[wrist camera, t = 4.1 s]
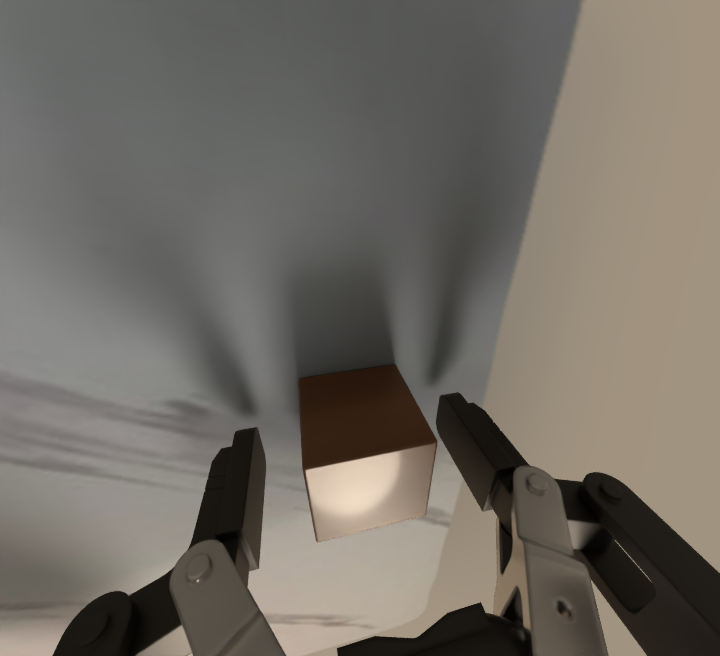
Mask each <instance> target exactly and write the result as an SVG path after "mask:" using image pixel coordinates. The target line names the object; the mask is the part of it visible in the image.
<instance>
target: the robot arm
mask: <svg viewBox="0 0 720 656" xmlns="http://www.w3.org/2000/svg"><path fill="white" fill-rule="evenodd" d="M436 426H437V431H438V433H439V436H440V437H441V439H442V441H443V443H444V445H445V446H446V448H447V450H448V452H449V453H450V455H451V457H452V459H453V460H454V462H455V464H456V466H457V467H458V469H459V471H460V473H461V474H462V476H463V478H464V480H465V482H466V483H467V485H468V487H469V488H470V490H471V492H472V494H473V496H474V497H475V499H476V501H477V503H478V504H479V506H480V508H481V510H482V511H487V510H491V509H493V510H494V512H495V513H496V515H497V520H496V545H497V546H496V547H497V548H496V549H497V582H496V589H495V595H494V610H493V614H489V613H485V611H484V608H483V606H482V604H481V602H480V603H477V604H474V605H471V606H468V607H465V608H461V609H458V610H455V611H452V612H449V613H447V614H446V615H445V616H443V617H442V618H441V619H440V620H438V621H437V622H436V623H435V624H434V625H432V626H431V627H430V628H429V629H427V630H426V631H425V632H424V633H422V634H421V635H420V636H419V637H417V638H397V637H380V636H374V637H371V638H368V639H365V640H361V641H358V642H355V643H352V644H349V645H346V646H343V647H340V648H337V653H338V656H608V652H607V647H606V643H605V639H604V634H603V630H602V626H601V622H600V618H599V614H598V609H597V605H596V601H595V597H594V592H593V588H592V584H591V580H592V581H593V583H594V584H595V585H596V586H597V588H598V589H599V591H600V592H601V593H602V595H603V596H604V598H605V599H606V600H607V602H608V603H609V604H610V606H611V607H612V608H613V610H614V611H615V613H616V614H617V615H618V617H619V618H620V619H621V621H622V622H623V623H624V624H625V626H626V627H627V629H628V630H629V631H630V633H631V634H632V636H633V637H634V638H635V640H636V641H637V642H638V644H639V645H640V646H641V648H642V649H643V651H644V652H645V653H646V655H647V656H720V573H719V572H718V571H717V570H715V569H714V568H713V567H712V566H711V565H710V564H709V563H708V562H707V561H706V560H705V559H704V558H703V557H702V556H701V555H700V554H698V553H697V552H696V551H695V550H694V549H693V548H692V547H691V546H690V545H689V544H688V543H687V542H686V541H685V540H683V539H682V538H681V537H680V536H679V535H678V534H677V533H676V532H675V531H674V530H673V529H671V527H670V526H669V525H668V524H666V523H665V522H664V521H663V520H662V519H661V518H660V517H659V516H658V515H657V514H656V513H655V512H654V511H653V510H651V509H650V508H649V507H648V506H647V505H646V504H645V503H644V502H643V501H642V500H641V499H640V498H639V497H638V496H637V495H636V494H635V493H634V492H632V491H631V490H630V489H629V488H628V487H627V486H626V485H625V484H623V483H622V482H620V481H619V480H617V479H616V478H613V477H612V476H609V475H607V474H604V473H599V472H593V473H589V474H587V475H586V476H585V478H584V480H583V482H579V481H569V480H559V479H553V478H552V477H551V476H550V475H549V474H548V473H546V472H545V471H543V470H541V469H539V468H537V467H534V466H530V465H529V464H528V463H527V462H526V461H525V460H524V458H523V457H522V456H521V455H520V453H519V452H518V451H517V450H516V448H515V447H514V446H513V445H512V444H511V442H510V441H509V440H508V439H507V438H506V436H505V435H504V434H503V433H502V431H500V429H499V428H498V426H497V425H496V424H495V423H493V420H492V419H491V418H490V417H489V415H488V414H487V413H486V412H485V410H483V409H482V408H480V407H479V406H477V405H476V404H474V403H467V401H466V400H465V399H464V397H463V396H462V395H461V394H460V393H458V392H457V393H451V394H446V395H441V396H440V398H439V404H438V411H437V418H436ZM265 476H266V459H265V453H264V449H263V445H262V442H261V438H260V435H259V431H258V428H257V427H255V428H249V429H243V430H238V431H236V432H235V434H234V439H233V444H232V447H226V448H221V450H220V451H219V453H218V454H217V456H216V457H215V458H214V460H213V461H212V464H211V468H210V472H209V476H208V480H207V484H206V487H205V492H204V495H203V499H202V503H201V507H200V511H199V515H198V519H197V522H196V526H195V530H194V534H193V538H192V541H191V544H190V546H189V548H188V550H187V551H186V552H185V553H184V554H183V555H182V556H181V558H180V559H179V560H178V562H177V564H176V565H175V567H174V568H173V569H172V570H170V571H169V572H168V573H167V574H165V575H164V576H162V577H161V578H159V579H157V580H155V581H154V582H152V583H150V584H148V585H147V586H145V587H143V588H142V589H140V590H138V591H136V592H135V593H133V594H131V595H129V596H128V595H127V594H126V593H124V592H121V591H114V592H109V593H106V594H104V595H102V596H100V597H98V598H97V599H95V600H93V601H92V602H91V603H89V604H88V605H87V606H86V607H85V608H84V609H82V610H81V611H80V612H79V614H78V615H77V616H76V617H75V618H74V619H73V620H72V622H71V623H70V624H69V626H68V627H67V629H66V630H65V632H64V634H63V635H62V637H61V639H60V641H59V643H58V645H57V648H56V650H55V652H54V654H53V656H188V655H189V654H191V653H192V654H193V656H286V655H285V653H284V651H283V649H282V647H281V646H280V644H279V642H278V640H277V638H276V637H275V635H274V633H273V631H272V629H271V628H270V626H269V624H268V622H267V621H266V619H265V617H264V615H263V614H262V612H261V611H260V609H259V607H258V606H257V604H256V602H255V600H254V598H253V597H252V595H251V593H250V591H249V589H248V588H247V586H248V575H249V571H251V570H255V569H259V559H260V545H261V531H262V517H263V503H264V490H265ZM615 540H616V541H617V542H618V543H619V544H620V546H621V547H622V548H623V549H624V550H625V551H626V552H627V554H628V555H629V556H630V557H631V558H632V559H633V560H634V561H635V562H636V564H637V565H638V566H639V567H640V568H641V569H642V571H643V572H644V573H645V574H646V575H647V576H648V578H649V579H650V580H651V581H650V580H649V579H648V578H647V577H646V576H645V575H644V573H643V572H642V571H641V570H640V569H639V568H638V567H637V565H636V564H635V563H634V562H633V561H632V560H631V559H630V557H629V556H628V555H627V554H626V553H625V552H624V551H623V550H622V548H621V547H620V546H619V545H618V544H617V543H616V542H615ZM590 579H591V580H590ZM651 582H652V583H651Z"/></svg>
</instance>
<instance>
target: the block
mask: <svg viewBox="0 0 720 656" xmlns="http://www.w3.org/2000/svg"><path fill="white" fill-rule="evenodd" d="M298 386H299V406H300V427H301V448H302V468H303V474H304V479H305V484H306V490H307V495H308V500H309V506H310V511H311V516H312V522H313V527H314V532H315V538H316V541H317V542H322V541H326V540H330V539H334V538H338V537H342V536H345V535H349V534H353V533H357V532H361V531H365V530H369V529H373V528H377V527H381V526H385V525H389V524H393V523H397V522H401V521H405V520H409V519H413V518H417V517H421V516H425V515H426V511H427V505H428V498H429V492H430V486H431V479H432V473H433V467H434V460H435V454H436V448H437V439H436V438H435V436H434V434H433V432H432V430H431V428H430V427H429V425H428V423H427V421H426V419H425V417H424V416H423V414H422V412H421V410H420V408H419V406H418V405H417V403H416V401H415V399H414V397H413V395H412V394H411V392H410V390H409V388H408V386H407V384H406V383H405V381H404V379H403V377H402V375H401V373H400V372H399V370H398V368H397V366H396V365H387V366H381V367H374V368H367V369H361V370H354V371H348V372H341V373H334V374H328V375H321V376H315V377H308V378H301V379H299V380H298Z"/></svg>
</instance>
